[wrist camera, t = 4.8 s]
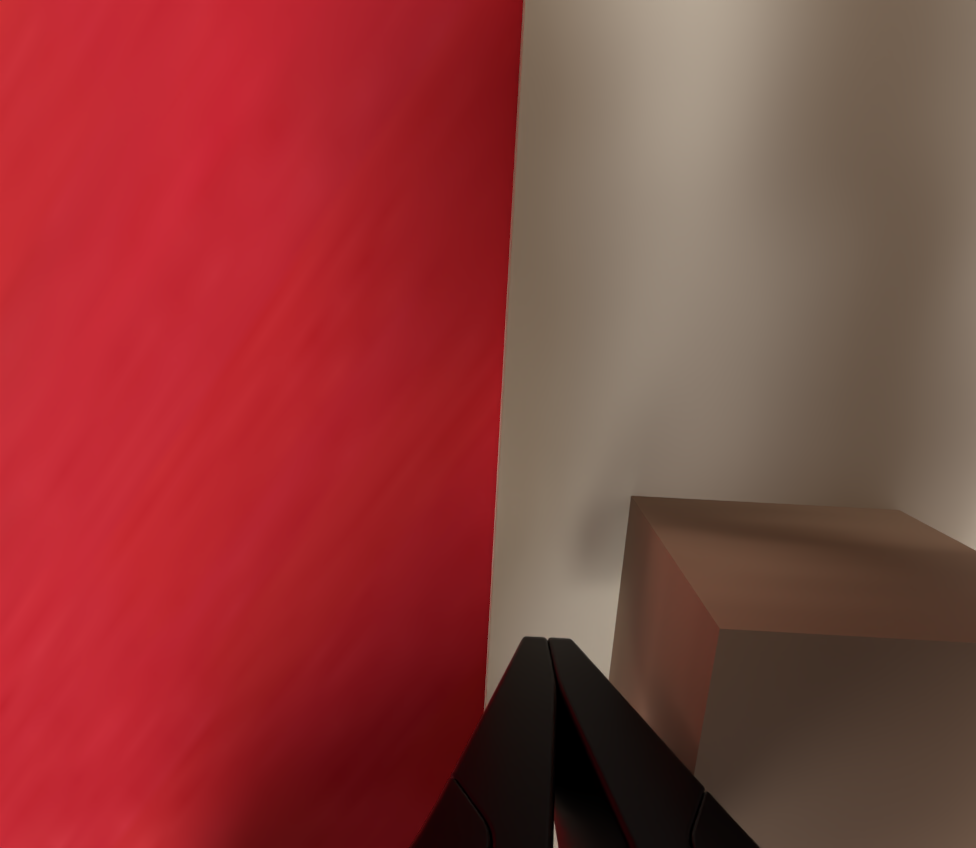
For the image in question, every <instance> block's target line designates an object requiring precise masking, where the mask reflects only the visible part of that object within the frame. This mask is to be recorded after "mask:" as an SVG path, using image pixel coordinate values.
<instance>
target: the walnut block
mask: <svg viewBox="0 0 976 848" xmlns="http://www.w3.org/2000/svg"><path fill="white" fill-rule="evenodd" d="M609 681H610V682H611V683H612V684H613V686H614V687H615V688H616V689H617V690H618V691H619V692H620V693H621V694H622V696H623V697H624V698H625V699H626V700H627V701H628V702H629V703H630V705H631V706H632V707H633V708H634V709H635V710H636V711H637V712H638V713H639V715H640V716H641V717H642V718H643V719H644V720H645V721H646V722H647V724H648V725H649V726H650V727H651V728H652V729H653V730H654V731H655V732H656V734H657V735H658V736H659V737H660V738H661V739H662V740H663V741H664V743H665V744H666V745H667V746H668V747H669V748H670V749H671V750H672V751H673V753H674V754H675V755H676V756H677V757H678V758H679V759H680V760H681V761H682V763H683V764H684V765H685V766H686V767H687V768H688V769H689V770H690V772H691V773H692V774H693V775H694V776H695V777H696V778H697V779H698V780H699V782H700V783H701V784H702V785H703V786H704V788H705V792H706V791H707V792H709V793H710V794H711V795H712V796H713V797H714V798H715V799H716V800H717V801H718V802H719V804H720V805H721V806H722V807H723V808H724V809H725V810H726V811H727V813H728V814H729V815H730V816H731V817H732V818H733V819H734V820H735V821H736V822H737V823H738V824H739V825H740V826H741V828H742V829H743V830H744V831H745V832H746V833H747V834H748V835H749V836H750V837H751V838H752V839H753V840H754V841H755V842H756V844H757V845H758V846H759V847H760V848H976V550H974V549H972V548H970V547H968V546H966V545H964V544H963V543H961V542H959V541H957V540H955V539H953V538H951V537H949V536H947V535H945V534H944V533H942V532H940V531H938V530H936V529H934V528H932V527H930V526H928V525H927V524H925V523H923V522H921V521H919V520H917V519H915V518H913V517H911V516H910V515H908V514H906V513H904V512H902V511H900V510H890V509H871V508H852V507H834V506H815V505H796V504H777V503H759V502H740V501H721V500H702V499H684V498H665V497H646V496H631V500H630V508H629V516H628V525H627V533H626V541H625V549H624V557H623V566H622V574H621V582H620V590H619V598H618V607H617V615H616V623H615V631H614V639H613V648H612V656H611V664H610V672H609Z"/></svg>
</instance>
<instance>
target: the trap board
mask: <svg viewBox="0 0 976 848" xmlns="http://www.w3.org/2000/svg"><path fill="white" fill-rule="evenodd" d="M631 496H646V497H665V498H684V499H702V500H721V501H740V502H759V503H777V504H796V505H815V506H834V507H852V508H871V509H890V510H900V511H902V512H904V513H906V514H908V515H910V516H911V517H913V518H915V519H917V520H919V521H921V522H923V523H925V524H927V525H928V526H930V527H932V528H934V529H936V530H938V531H940V532H942V533H944V534H945V535H947V536H949V537H951V538H953V539H955V540H957V541H959V542H961V543H963V544H964V545H966V546H968V547H970V548H972V549H974V550H976V0H523V14H522V32H521V50H520V68H519V87H518V105H517V123H516V141H515V159H514V177H513V195H512V213H511V231H510V250H509V268H508V286H507V304H506V322H505V340H504V358H503V376H502V395H501V413H500V431H499V449H498V467H497V485H496V503H495V521H494V539H493V558H492V576H491V594H490V612H489V630H488V648H487V666H486V684H485V702H484V711H485V709H486V707H487V705H488V703H489V701H490V699H491V697H492V695H493V693H494V691H495V689H496V688H497V686H498V684H499V682H500V680H501V678H502V676H503V674H504V672H505V670H506V668H507V666H508V665H509V663H510V661H511V659H512V657H513V655H514V653H515V651H516V649H517V647H518V645H519V643H520V642H521V640H522V638H523V637H525V636H535V637H545V638H546V639H547V640H548V638H550V637H555V638H570V639H572V640H573V641H574V642H575V643H576V644H577V645H578V646H579V648H580V649H581V650H582V651H583V652H584V653H585V654H586V655H587V657H588V658H589V659H590V660H591V661H592V662H593V663H594V664H595V665H596V667H597V668H598V669H599V670H600V671H601V672H602V673H603V674H604V676H605V677H606V678H607V679H608V680H609V672H610V664H611V656H612V648H613V639H614V631H615V623H616V615H617V607H618V598H619V590H620V582H621V574H622V566H623V557H624V549H625V541H626V533H627V525H628V516H629V508H630V500H631ZM553 848H558V842H557V836H556V830H555V824H554V845H553Z"/></svg>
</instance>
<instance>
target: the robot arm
mask: <svg viewBox="0 0 976 848" xmlns="http://www.w3.org/2000/svg"><path fill="white" fill-rule="evenodd" d="M554 824H555V830H556V836H557V842H558V848H760V847H759V846H758V845H757V844H756V842H755V841H754V840H753V839H752V838H751V837H750V836H749V835H748V834H747V833H746V832H745V831H744V830H743V829H742V828H741V826H740V825H739V824H738V823H737V822H736V821H735V820H734V819H733V818H732V817H731V816H730V815H729V814H728V813H727V811H726V810H725V809H724V808H723V807H722V806H721V805H720V804H719V802H718V801H717V800H716V799H715V798H714V797H713V796H712V795H711V794H710V793H709V792H707V791H706V792H705V788H704V786H703V785H702V784H701V783H700V782H699V780H698V779H697V778H696V777H695V776H694V775H693V774H692V773H691V772H690V770H689V769H688V768H687V767H686V766H685V765H684V764H683V763H682V761H681V760H680V759H679V758H678V757H677V756H676V755H675V754H674V753H673V751H672V750H671V749H670V748H669V747H668V746H667V745H666V744H665V743H664V741H663V740H662V739H661V738H660V737H659V736H658V735H657V734H656V732H655V731H654V730H653V729H652V728H651V727H650V726H649V725H648V724H647V722H646V721H645V720H644V719H643V718H642V717H641V716H640V715H639V713H638V712H637V711H636V710H635V709H634V708H633V707H632V706H631V705H630V703H629V702H628V701H627V700H626V699H625V698H624V697H623V696H622V694H621V693H620V692H619V691H618V690H617V689H616V688H615V687H614V686H613V684H612V683H611V682H610V681H609V680H608V679H607V678H606V677H605V676H604V674H603V673H602V672H601V671H600V670H599V669H598V668H597V667H596V665H595V664H594V663H593V662H592V661H591V660H590V659H589V658H588V657H587V655H586V654H585V653H584V652H583V651H582V650H581V649H580V648H579V646H578V645H577V644H576V643H575V642H574V641H573V640H572V639H570V638H555V637H550V638H548V640H547V639H546V638H545V637H535V636H525V637H523V638H522V640H521V642H520V643H519V645H518V647H517V649H516V651H515V653H514V655H513V657H512V659H511V661H510V663H509V665H508V666H507V668H506V670H505V672H504V674H503V676H502V678H501V680H500V682H499V684H498V686H497V688H496V689H495V691H494V693H493V695H492V697H491V699H490V701H489V703H488V705H487V707H486V709H485V711H484V712H483V714H482V716H481V718H480V720H479V722H478V724H477V726H476V728H475V730H474V732H473V734H472V735H471V737H470V739H469V741H468V743H467V745H466V747H465V749H464V751H463V753H462V755H461V757H460V758H459V760H458V762H457V764H456V766H455V768H454V770H453V772H452V774H451V778H449V779H448V781H447V783H446V785H445V787H444V788H443V790H442V792H441V794H440V796H439V798H438V800H437V802H436V803H435V805H434V807H433V809H432V811H431V812H430V814H429V816H428V818H427V819H426V821H425V823H424V825H423V826H422V828H421V830H420V832H419V833H418V835H417V836H416V838H415V839H414V841H413V842H412V844H411V845H410V847H409V848H553V845H554Z"/></svg>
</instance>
